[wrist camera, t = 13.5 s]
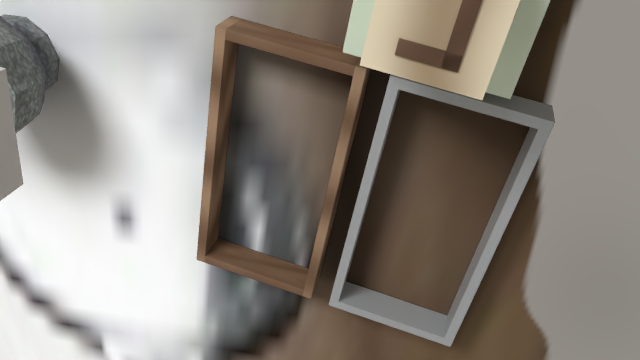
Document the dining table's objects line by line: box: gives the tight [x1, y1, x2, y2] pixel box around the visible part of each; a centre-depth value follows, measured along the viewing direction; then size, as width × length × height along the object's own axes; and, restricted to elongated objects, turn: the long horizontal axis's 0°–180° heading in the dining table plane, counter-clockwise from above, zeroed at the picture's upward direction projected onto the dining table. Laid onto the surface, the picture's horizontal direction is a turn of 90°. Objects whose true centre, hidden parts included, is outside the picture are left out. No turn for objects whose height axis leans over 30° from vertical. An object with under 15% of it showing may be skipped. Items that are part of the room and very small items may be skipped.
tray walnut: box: [197, 16, 371, 299], centre depth 42 cm, size 20×10×2 cm, turn 169°
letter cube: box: [360, 0, 520, 100], centre depth 28 cm, size 6×6×6 cm
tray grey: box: [329, 75, 555, 347], centre depth 40 cm, size 20×10×2 cm, turn 169°
